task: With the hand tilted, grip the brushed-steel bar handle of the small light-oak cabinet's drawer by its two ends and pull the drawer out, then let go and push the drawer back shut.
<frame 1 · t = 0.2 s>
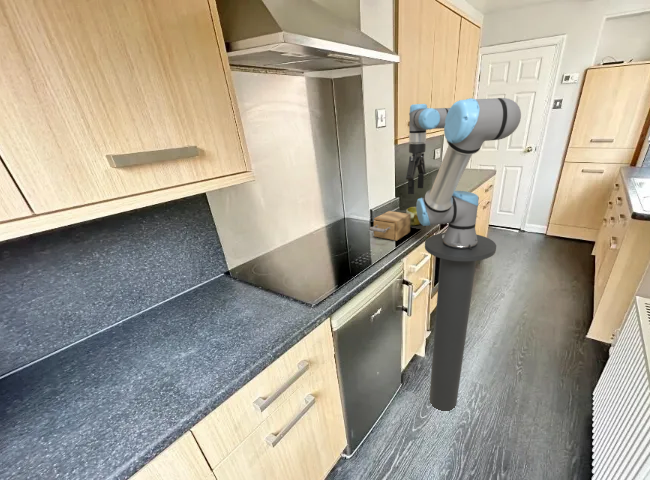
hand: (415, 190, 154), 21 cm above the worktop, tool pointing down, fingers open, 13 cm apart
mug: (413, 224, 175), on the worktop
cabinet: (392, 234, 162), on the worktop
drawer: (387, 228, 156), point 5 cm above the worktop, slide at 0.5 cm
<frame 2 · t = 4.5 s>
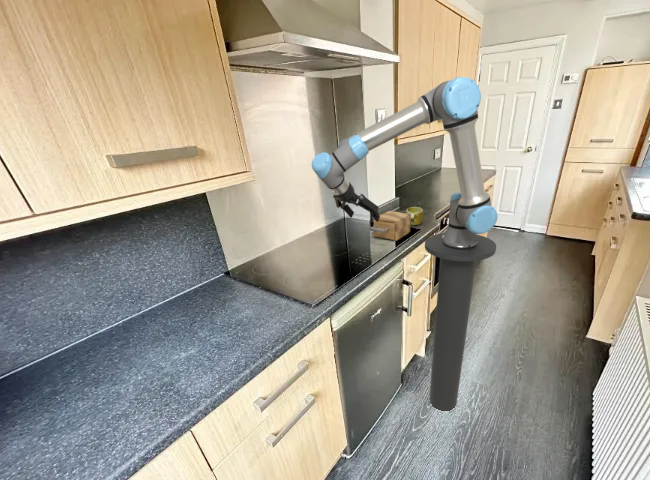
hand: (365, 216, 137), 15 cm above the worktop, tool tilted 45°, fingers open, 13 cm apart
nothing on the worktop moved.
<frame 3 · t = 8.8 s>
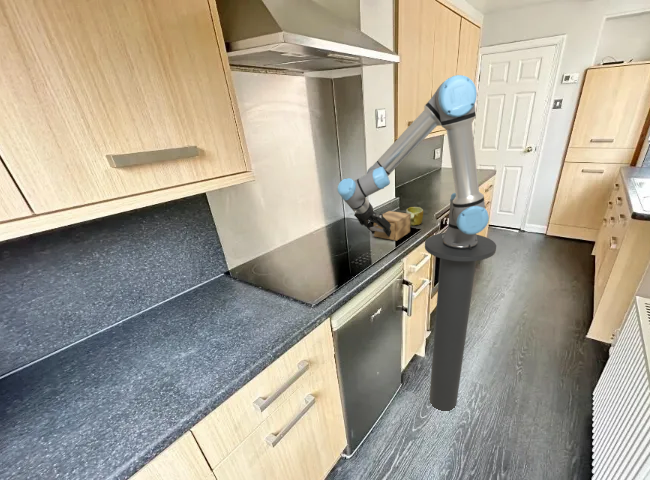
hand: (381, 232, 152), 4 cm above the worktop, tool tilted 45°, fingers closed on drawer, 8 cm apart
drawer: (387, 228, 156), point 5 cm above the worktop, slide at 0.5 cm, touching gripper
everything else where it was.
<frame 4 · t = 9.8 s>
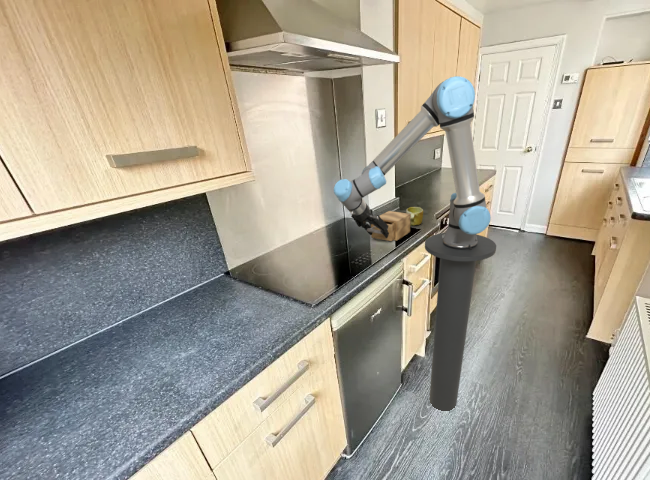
hand: (379, 234, 151), 4 cm above the worktop, tool tilted 45°, fingers closed on drawer, 8 cm apart
drawer: (385, 229, 154), point 5 cm above the worktop, slide at 2.8 cm, touching gripper
everything else where it was.
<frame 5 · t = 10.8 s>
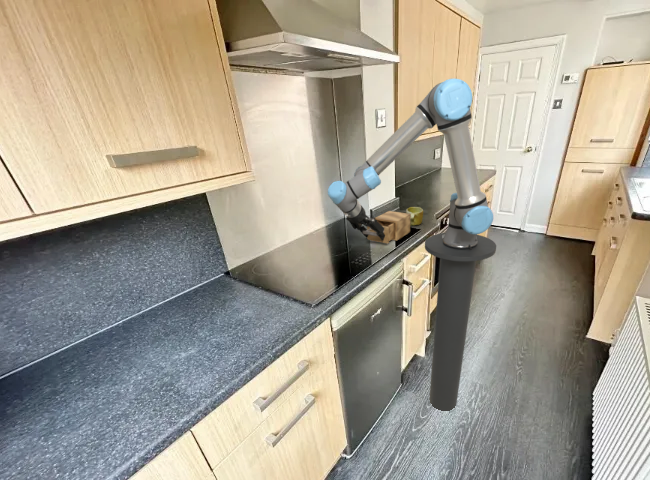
hand: (375, 236, 148), 4 cm above the worktop, tool tilted 45°, fingers closed on drawer, 8 cm apart
drawer: (381, 231, 152), point 5 cm above the worktop, slide at 6.4 cm, touching gripper
everything else where it was.
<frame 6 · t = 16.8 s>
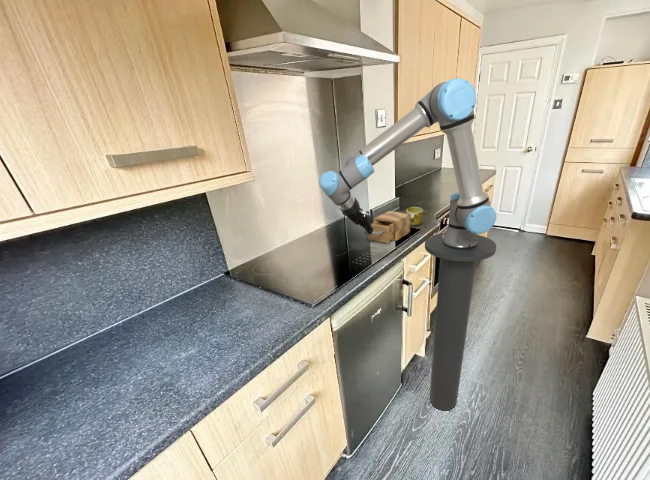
hand: (371, 231, 144), 8 cm above the worktop, tool tilted 45°, fingers closed
drawer: (382, 231, 152), point 5 cm above the worktop, slide at 5.6 cm, touching gripper
everything else where it was.
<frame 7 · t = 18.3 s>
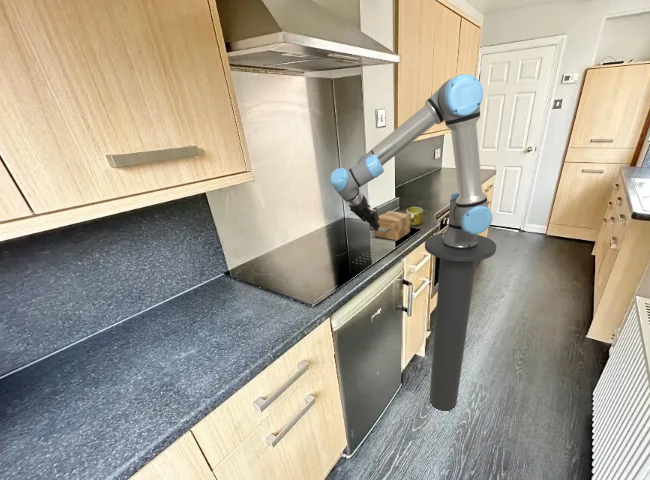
hand: (377, 227, 148), 8 cm above the worktop, tool tilted 45°, fingers closed
drawer: (387, 228, 156), point 5 cm above the worktop, slide at 0.0 cm, touching cabinet, gripper
everything else where it was.
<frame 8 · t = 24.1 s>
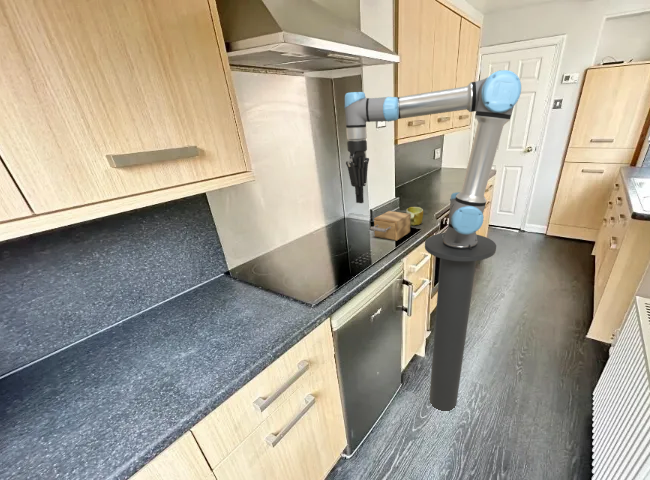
hand: (359, 202, 131), 22 cm above the worktop, tool pointing down, fingers closed
drawer: (387, 228, 156), point 5 cm above the worktop, slide at 0.0 cm, touching cabinet
everything else where it was.
at the end: drawer pulled out 6.5 cm at the most during the clip, back to where it started at the end; drawer slide at 0.0 cm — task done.
